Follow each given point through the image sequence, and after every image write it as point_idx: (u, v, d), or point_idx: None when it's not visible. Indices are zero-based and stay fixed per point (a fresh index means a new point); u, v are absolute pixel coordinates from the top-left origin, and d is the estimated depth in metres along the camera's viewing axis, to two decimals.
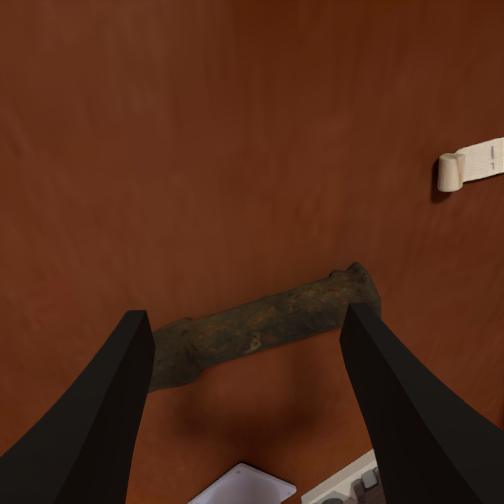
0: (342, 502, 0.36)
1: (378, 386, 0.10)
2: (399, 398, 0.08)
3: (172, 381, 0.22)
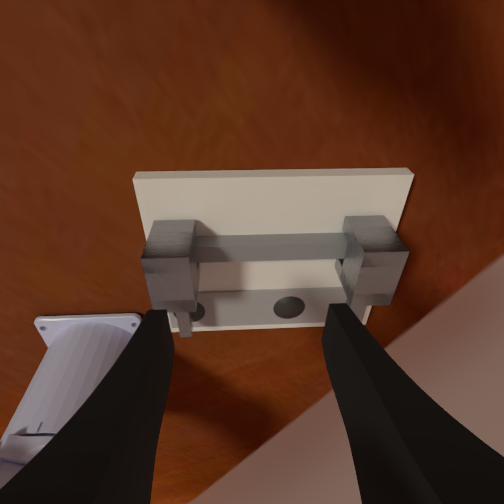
0: (197, 302, 0.24)
1: (355, 387, 0.10)
2: (372, 399, 0.08)
3: None
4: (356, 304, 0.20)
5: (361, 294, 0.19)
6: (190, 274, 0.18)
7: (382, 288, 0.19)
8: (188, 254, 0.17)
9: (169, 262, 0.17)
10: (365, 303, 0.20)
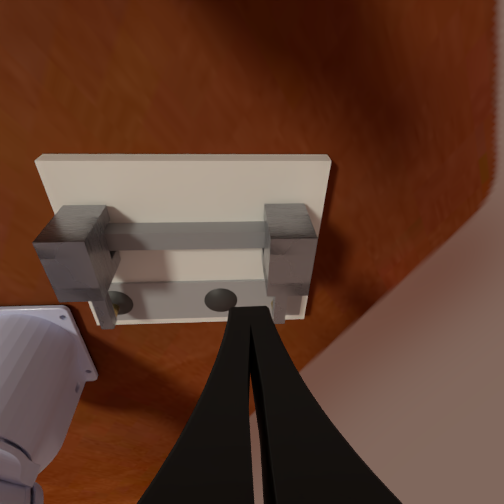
0: (124, 294, 0.23)
1: (259, 392, 0.09)
2: (263, 405, 0.08)
3: None
4: (272, 294, 0.19)
5: (276, 284, 0.18)
6: (90, 260, 0.17)
7: (296, 277, 0.18)
8: (85, 239, 0.16)
9: (64, 247, 0.16)
10: (282, 293, 0.19)
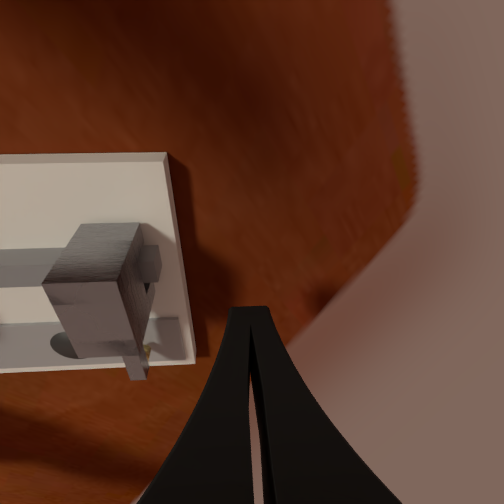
0: None
1: (258, 391, 0.09)
2: (263, 405, 0.08)
3: None
4: (86, 355, 0.13)
5: (83, 342, 0.13)
6: None
7: (111, 334, 0.12)
8: None
9: None
10: (99, 354, 0.13)
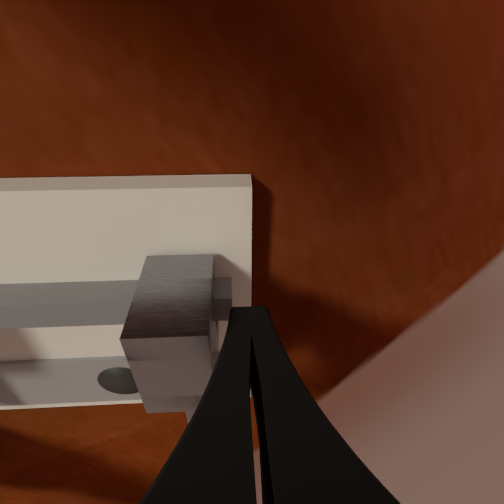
0: None
1: (258, 391, 0.09)
2: (262, 405, 0.08)
3: None
4: (156, 410, 0.11)
5: (155, 397, 0.11)
6: None
7: (189, 389, 0.11)
8: None
9: None
10: (171, 408, 0.11)
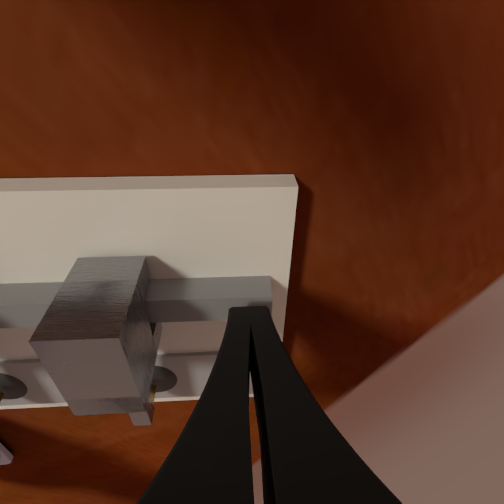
0: (8, 375, 0.16)
1: (259, 391, 0.09)
2: (263, 405, 0.08)
3: None
4: (83, 412, 0.11)
5: (80, 400, 0.11)
6: None
7: (112, 391, 0.11)
8: None
9: None
10: (99, 411, 0.11)
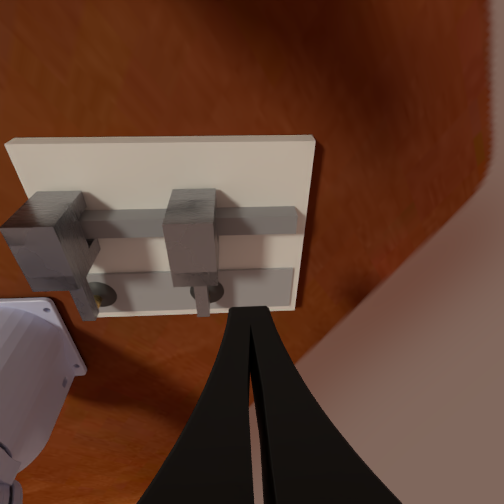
0: (106, 285, 0.23)
1: (258, 391, 0.09)
2: (263, 405, 0.08)
3: None
4: (179, 285, 0.18)
5: (179, 273, 0.17)
6: (61, 247, 0.16)
7: (201, 266, 0.17)
8: (55, 224, 0.16)
9: (33, 232, 0.15)
10: (189, 283, 0.18)
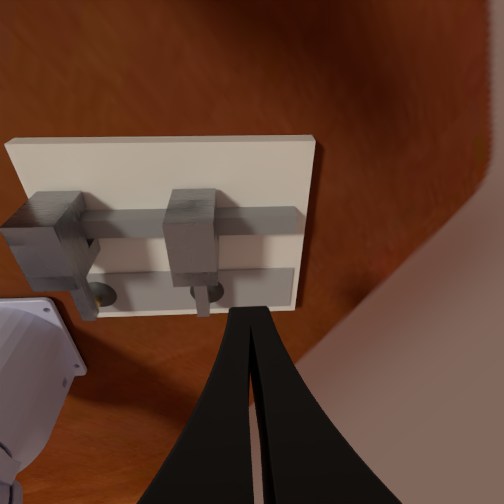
0: (106, 285, 0.23)
1: (258, 391, 0.09)
2: (263, 405, 0.08)
3: None
4: (179, 285, 0.18)
5: (179, 273, 0.17)
6: (61, 247, 0.16)
7: (201, 266, 0.17)
8: (55, 224, 0.16)
9: (33, 232, 0.15)
10: (189, 283, 0.18)
